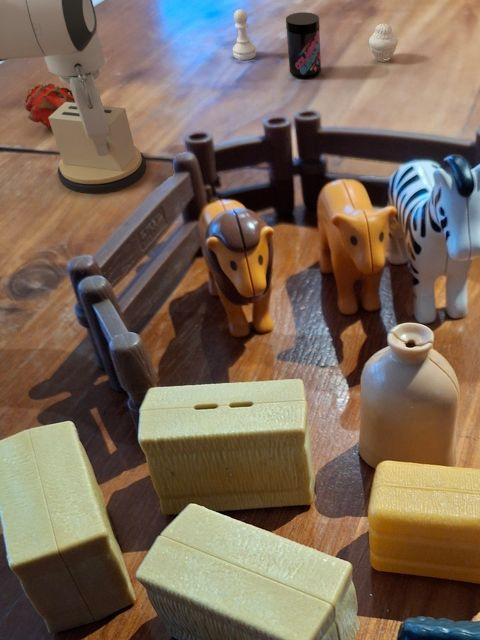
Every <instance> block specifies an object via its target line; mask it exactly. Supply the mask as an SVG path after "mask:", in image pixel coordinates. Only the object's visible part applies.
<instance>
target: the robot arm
mask: <svg viewBox="0 0 480 640" xmlns="http://www.w3.org/2000/svg"><path fill="white" fill-rule="evenodd" d="M104 55H105V54H104V52H103V48H102V43H101V41H100V37H99V33H98V22H97V15H96V10H95V7H94V3H93V0H0V62H5V61H8V60H16V59H29V58H30V59H31V58H41V57H43V58H44V61H45V65H46V67H47V70H48V72H49V73H51V74H53V75H56V76H58V78H59V81H60V82H62V83H64V84H67V85H68V87H69V90H71V91H72V94H73V97H74V100H75V103H76V106H77V109H78V112H79V115H80V118H81V121H82V124H83V127H84V130H85V132H86V135H87V137H88V138H89V139H93V142H94V144H95V147H96V150H97V153H98V155H99V156H106V155H108V154H109V152H108V148H107V144H106V136H108V135H109V134H110V131H109V126H108V122H107V119H106V115H105V112H104V108H103V106H104V105H103V101H102V98H101V95H100V91H99V89H98V88H99V87H98V85H97V83H96V81H95V80H97V79H98V78H99V76H100V75H101V73H100V72H101V71H100V69H101V68H103V66H104V65H105V63H106V60H105V56H104Z"/></svg>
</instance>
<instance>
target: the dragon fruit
mask: <svg viewBox="0 0 480 640" xmlns="http://www.w3.org/2000/svg"><path fill="white" fill-rule="evenodd" d="M33 87H34V88H30V89H28V91H27V94H26V96H25V97H24V101H25V103H24V105H23V107H24V108H25V110H26V111H27V112H29V113H28V119H29V120H30V121H32V122H34V123H41V124H42V125H43V126H45V127H46V128H47V129H48V130H49V131H50V133H53V131H52V128H51V125H50V122H49V118H48V117H49V116H51V115H52V114H53V113H54V112H55V111H56V110H57V109H58V108H59V107H60V106H62V105H63V104H64V103H65V102H72V103H75V100H74V97H73V94H72V91H71V89H70V88H68V87H60V86H58V85H57V86H56V85H55V84H54V83H48V84H41V83H37V84H35V85H34V86H33Z"/></svg>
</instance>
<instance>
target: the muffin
mask: <svg viewBox="0 0 480 640" xmlns="http://www.w3.org/2000/svg"><path fill="white" fill-rule="evenodd" d="M368 45H369V48H370V50H371V52H372V55H373V57H374V59H375V61H377V62H380V63H386V62H389V61H390V60H391V59H392V57H393V55H394V53H395V51H396V49H397V45H398V38H397V36H396V35H395V34H394V32H393V28H392V27H391V25H390V24H388V23H380V24H377V25H376V26H375V29H374V32H373V34H371V36H370V37H369V39H368ZM376 58H377V59H376ZM388 58H390V59H388ZM378 59H379V60H378ZM384 59H388V60H384Z"/></svg>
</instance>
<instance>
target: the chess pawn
mask: <svg viewBox="0 0 480 640" xmlns="http://www.w3.org/2000/svg"><path fill="white" fill-rule="evenodd" d="M233 19H234V21H235V24H234V28H236V29H237V30H238V36H237V38H236V44H234V46H233V47H232V51H233V52H232V55H233V57H234V58H235V60H238V61H239V60H240V61H249V60H252V59H254V58H255V57H256V56H257V51H256V49H257V47H256V46H255V44H253V43H252V42H251V38H250V37H249V36H248V34H247V28H248V27H249V24H248V23H247V21H248V14H247V12H246V11H245V10H244V9H242V8H239V9H236V11H234V13H233Z"/></svg>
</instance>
